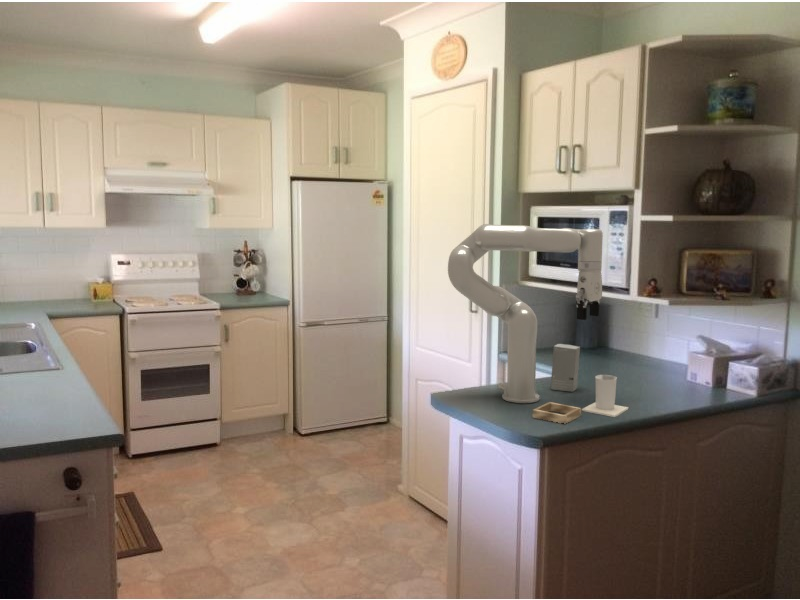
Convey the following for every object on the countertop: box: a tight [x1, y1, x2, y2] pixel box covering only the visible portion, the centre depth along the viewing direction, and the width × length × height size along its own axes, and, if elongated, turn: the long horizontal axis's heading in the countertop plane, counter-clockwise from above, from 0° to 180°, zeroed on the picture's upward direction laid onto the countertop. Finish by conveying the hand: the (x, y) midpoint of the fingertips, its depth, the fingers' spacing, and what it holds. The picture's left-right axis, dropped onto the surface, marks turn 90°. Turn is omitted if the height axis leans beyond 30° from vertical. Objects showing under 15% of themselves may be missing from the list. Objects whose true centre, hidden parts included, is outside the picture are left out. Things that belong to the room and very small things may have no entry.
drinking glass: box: [594, 374, 618, 410], centre depth 231 cm, size 7×7×10 cm
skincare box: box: [550, 343, 581, 393], centre depth 256 cm, size 8×7×16 cm
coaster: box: [581, 401, 629, 418], centre depth 231 cm, size 11×11×1 cm
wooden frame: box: [532, 401, 582, 425], centre depth 224 cm, size 11×11×2 cm
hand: (588, 317), depth 239 cm, fingers open, 9 cm apart
